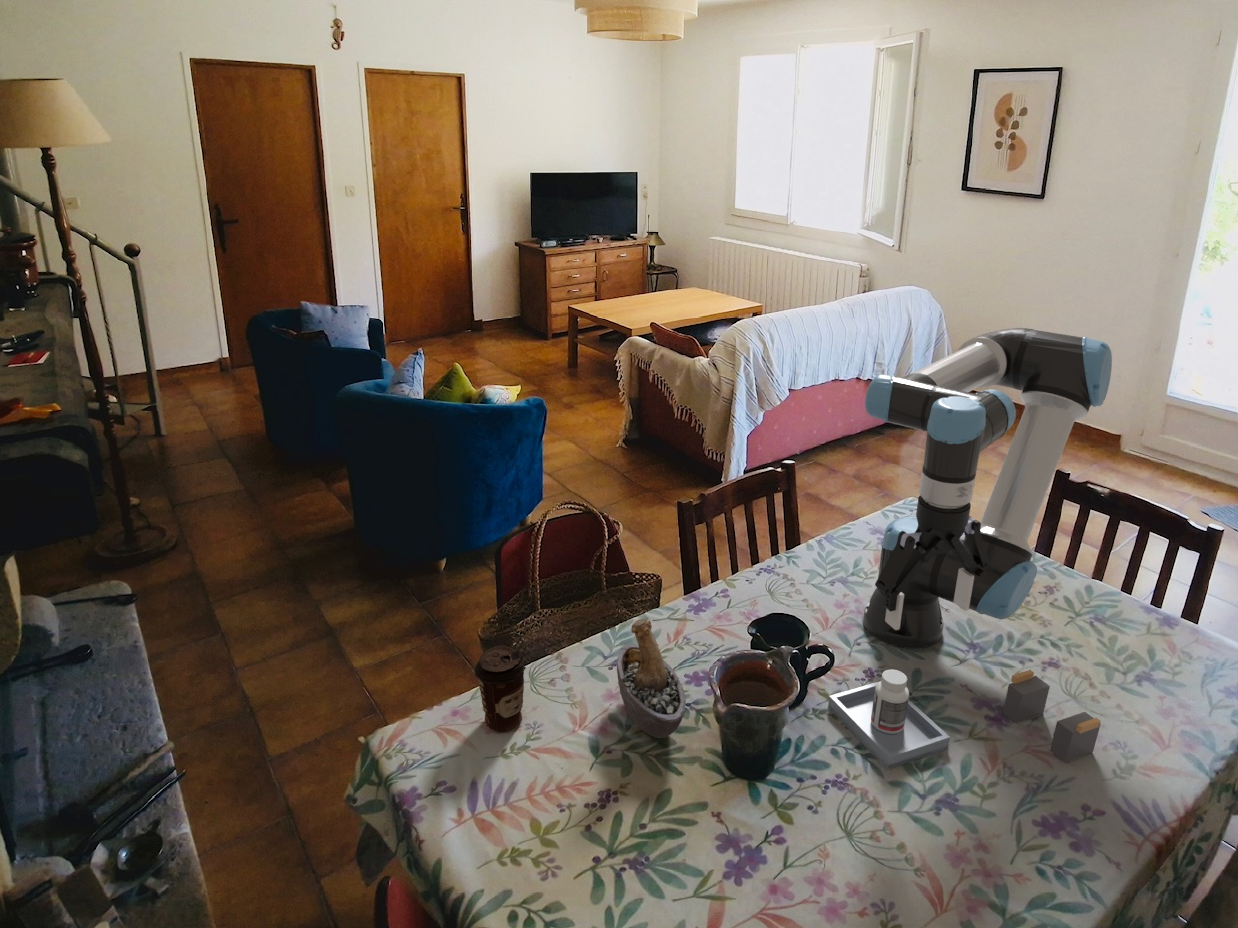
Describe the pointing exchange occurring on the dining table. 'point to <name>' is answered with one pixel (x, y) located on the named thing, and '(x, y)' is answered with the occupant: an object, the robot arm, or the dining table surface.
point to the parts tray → (887, 748)
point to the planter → (649, 684)
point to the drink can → (501, 687)
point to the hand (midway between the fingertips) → (927, 615)
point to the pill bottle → (890, 702)
